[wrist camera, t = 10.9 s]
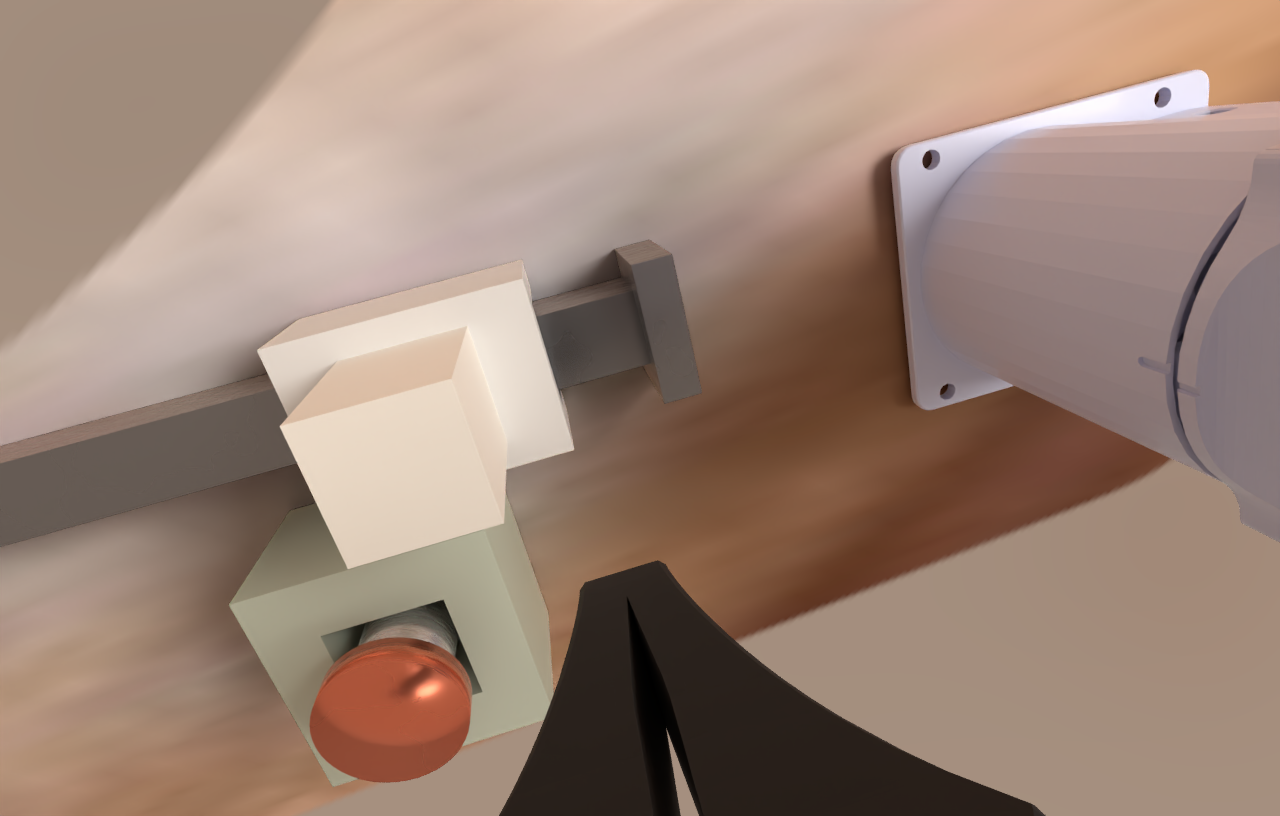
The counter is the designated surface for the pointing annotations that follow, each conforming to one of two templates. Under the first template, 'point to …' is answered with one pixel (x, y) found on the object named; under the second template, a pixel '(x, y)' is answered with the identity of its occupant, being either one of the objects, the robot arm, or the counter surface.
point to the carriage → (418, 409)
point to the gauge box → (348, 598)
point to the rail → (252, 414)
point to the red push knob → (395, 699)
